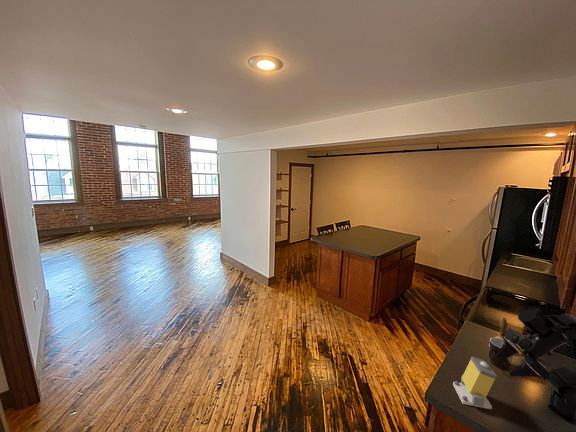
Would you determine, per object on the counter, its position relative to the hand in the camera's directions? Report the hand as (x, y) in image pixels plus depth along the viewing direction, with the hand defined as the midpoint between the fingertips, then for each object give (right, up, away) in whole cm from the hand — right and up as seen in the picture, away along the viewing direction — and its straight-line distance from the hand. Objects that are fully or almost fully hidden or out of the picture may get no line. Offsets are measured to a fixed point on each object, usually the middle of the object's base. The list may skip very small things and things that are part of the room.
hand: (503, 365), depth 91 cm
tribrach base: (-10, -13, +3) cm, 17 cm away
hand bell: (+24, -10, +29) cm, 39 cm away
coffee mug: (+14, -11, +19) cm, 26 cm away
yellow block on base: (-10, -11, +2) cm, 15 cm away
